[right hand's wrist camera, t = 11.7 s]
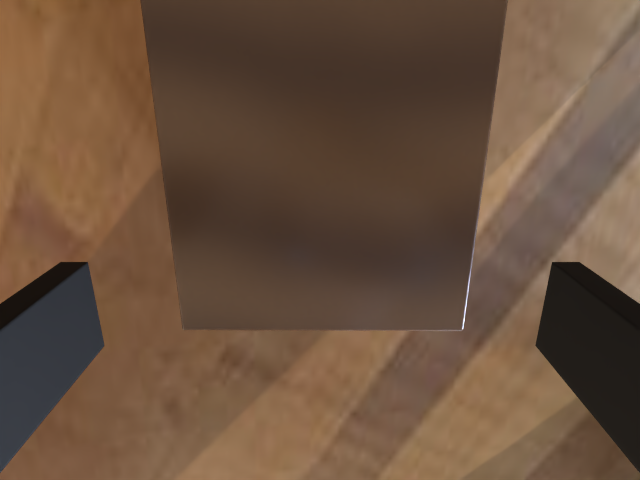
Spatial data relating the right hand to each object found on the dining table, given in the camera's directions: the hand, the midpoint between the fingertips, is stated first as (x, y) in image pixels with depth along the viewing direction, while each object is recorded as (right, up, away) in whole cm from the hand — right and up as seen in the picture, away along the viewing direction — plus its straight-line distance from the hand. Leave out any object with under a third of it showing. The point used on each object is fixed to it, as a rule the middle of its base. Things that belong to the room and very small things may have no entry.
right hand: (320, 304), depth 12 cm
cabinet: (0, +11, +10) cm, 15 cm away
